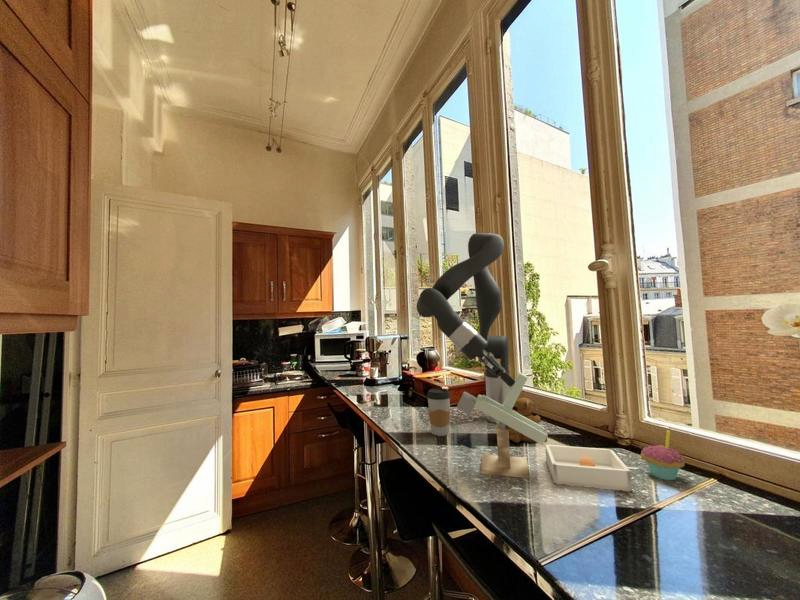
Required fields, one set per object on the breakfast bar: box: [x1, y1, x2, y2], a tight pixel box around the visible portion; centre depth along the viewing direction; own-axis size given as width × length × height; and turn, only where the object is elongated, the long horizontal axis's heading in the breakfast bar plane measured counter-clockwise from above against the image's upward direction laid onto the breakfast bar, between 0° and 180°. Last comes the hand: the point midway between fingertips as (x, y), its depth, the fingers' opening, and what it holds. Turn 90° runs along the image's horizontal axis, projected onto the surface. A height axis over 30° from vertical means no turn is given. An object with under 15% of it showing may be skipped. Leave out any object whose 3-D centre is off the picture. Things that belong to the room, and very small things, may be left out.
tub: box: [544, 444, 633, 492], centre depth 83 cm, size 16×13×4 cm
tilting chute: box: [456, 372, 548, 446], centre depth 90 cm, size 23×10×16 cm, turn 73°
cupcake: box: [640, 427, 685, 481], centre depth 81 cm, size 9×8×12 cm
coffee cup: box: [426, 387, 451, 437], centre depth 117 cm, size 8×8×15 cm
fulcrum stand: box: [480, 422, 531, 479], centre depth 89 cm, size 12×10×11 cm
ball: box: [579, 457, 595, 467], centre depth 83 cm, size 4×4×4 cm
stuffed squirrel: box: [499, 397, 548, 444], centre depth 109 cm, size 10×14×13 cm
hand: (512, 384), depth 93 cm, fingers closed
